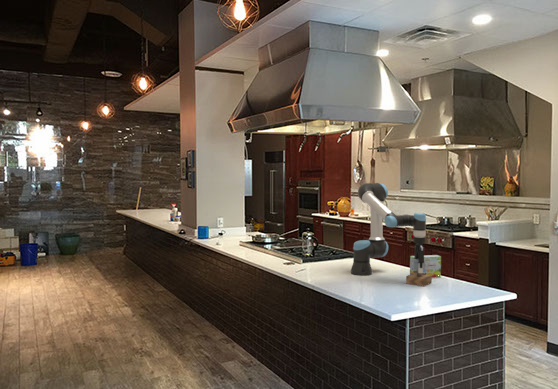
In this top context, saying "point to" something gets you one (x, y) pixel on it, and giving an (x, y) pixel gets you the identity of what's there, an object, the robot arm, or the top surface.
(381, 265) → the top surface
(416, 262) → the cap
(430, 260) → the snack box
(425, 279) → the block
